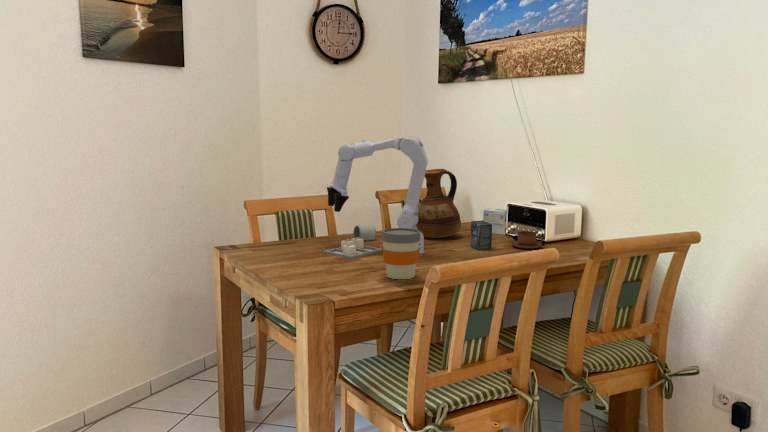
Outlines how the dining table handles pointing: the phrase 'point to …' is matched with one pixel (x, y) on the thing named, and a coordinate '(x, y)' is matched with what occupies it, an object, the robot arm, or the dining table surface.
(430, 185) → the ceramic pitcher
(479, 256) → the dining table surface
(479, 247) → the box
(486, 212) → the light bulb box
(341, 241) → the tab middle
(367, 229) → the ceramic mug
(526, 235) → the cup and saucer
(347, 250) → the tab
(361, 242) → the white small block
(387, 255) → the reusable coffee cup
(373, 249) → the grey flat tray
